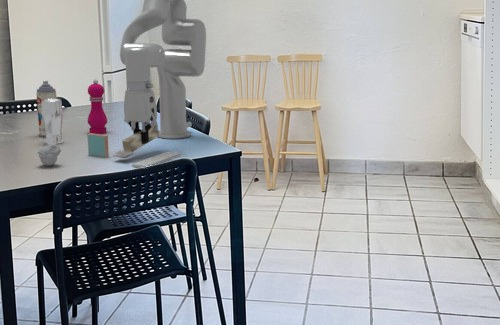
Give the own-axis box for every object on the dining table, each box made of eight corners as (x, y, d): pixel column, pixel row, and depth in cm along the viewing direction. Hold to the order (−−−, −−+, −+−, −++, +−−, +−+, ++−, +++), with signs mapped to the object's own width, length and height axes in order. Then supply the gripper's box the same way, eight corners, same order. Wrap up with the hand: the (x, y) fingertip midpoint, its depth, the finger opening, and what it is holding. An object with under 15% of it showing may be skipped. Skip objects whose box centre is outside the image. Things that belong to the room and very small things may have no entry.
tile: (91, 154, 215) (90, 133, 213) (108, 156, 212) (107, 135, 210) (88, 155, 213) (87, 134, 212) (105, 157, 210) (104, 136, 209)
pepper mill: (105, 134, 245) (102, 80, 240) (86, 134, 245) (83, 80, 240) (109, 130, 252) (107, 78, 247) (90, 130, 252) (88, 78, 247)
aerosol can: (38, 134, 244) (34, 80, 239) (57, 133, 247) (54, 79, 242) (40, 137, 238) (36, 82, 233) (59, 136, 241) (56, 81, 236)
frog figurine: (61, 167, 198) (60, 144, 196) (37, 168, 196) (35, 145, 195) (62, 162, 204) (61, 140, 202) (39, 163, 202) (37, 141, 200)
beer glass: (58, 139, 236) (55, 97, 232) (68, 142, 231) (65, 100, 228) (40, 142, 231) (37, 99, 228) (50, 145, 226) (47, 102, 223)
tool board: (167, 153, 216) (167, 151, 216) (180, 155, 214) (180, 153, 213) (132, 166, 199) (132, 164, 199) (145, 168, 197) (145, 166, 197)
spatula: (149, 134, 221) (148, 123, 220) (162, 136, 219) (160, 125, 218) (112, 156, 205) (111, 144, 204) (125, 158, 203) (124, 146, 201)
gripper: (166, 86, 208) (168, 142, 213) (125, 82, 215) (128, 137, 220) (152, 90, 202) (155, 148, 207) (111, 86, 209) (114, 142, 214)
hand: (141, 142), depth 213 cm, fingers closed on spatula, 2 cm apart
